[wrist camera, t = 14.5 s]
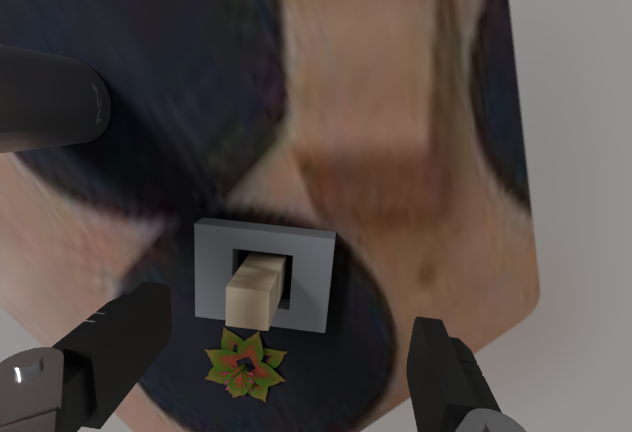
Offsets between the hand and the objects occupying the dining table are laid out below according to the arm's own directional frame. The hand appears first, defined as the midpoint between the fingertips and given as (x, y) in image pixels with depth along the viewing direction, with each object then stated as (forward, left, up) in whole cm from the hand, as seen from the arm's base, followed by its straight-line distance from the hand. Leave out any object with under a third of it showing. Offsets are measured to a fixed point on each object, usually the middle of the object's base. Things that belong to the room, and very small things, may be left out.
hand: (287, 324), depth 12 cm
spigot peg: (-7, -13, -30) cm, 34 cm away
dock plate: (-7, -13, -30) cm, 34 cm away
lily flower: (-9, -27, -31) cm, 42 cm away
